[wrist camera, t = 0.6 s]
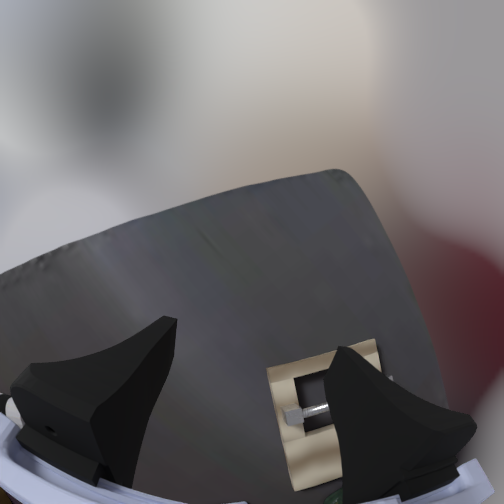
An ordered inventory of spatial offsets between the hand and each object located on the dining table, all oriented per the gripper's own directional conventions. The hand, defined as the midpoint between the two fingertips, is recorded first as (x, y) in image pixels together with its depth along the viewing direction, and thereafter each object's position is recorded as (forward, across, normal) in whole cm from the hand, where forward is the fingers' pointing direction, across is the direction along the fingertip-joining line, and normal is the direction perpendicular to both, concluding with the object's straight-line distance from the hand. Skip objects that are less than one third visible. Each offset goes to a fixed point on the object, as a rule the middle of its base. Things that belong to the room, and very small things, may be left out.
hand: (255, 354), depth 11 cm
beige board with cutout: (+15, -16, +21) cm, 31 cm away
